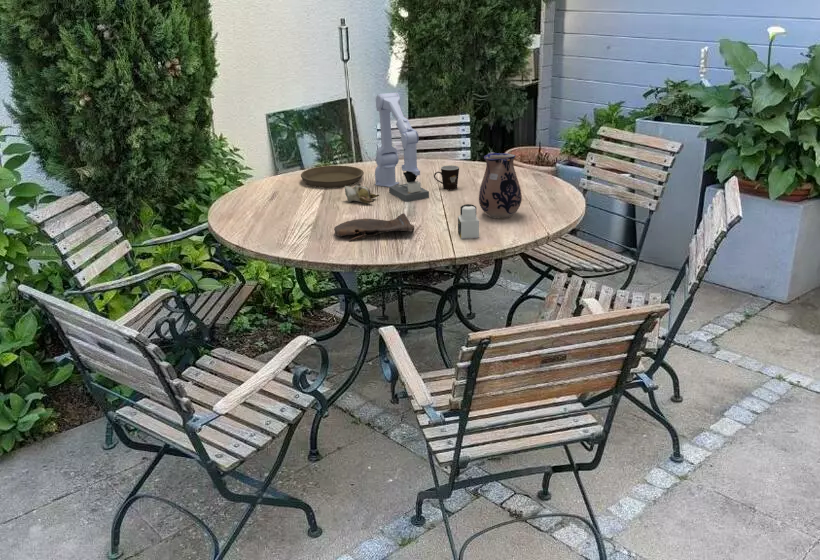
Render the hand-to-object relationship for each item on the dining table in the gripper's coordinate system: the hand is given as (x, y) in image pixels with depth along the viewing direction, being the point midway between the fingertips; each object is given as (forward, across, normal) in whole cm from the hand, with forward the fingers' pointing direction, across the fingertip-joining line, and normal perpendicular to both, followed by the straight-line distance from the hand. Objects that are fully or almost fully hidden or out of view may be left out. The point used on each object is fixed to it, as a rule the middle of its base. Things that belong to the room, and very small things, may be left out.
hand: (411, 187), depth 326 cm
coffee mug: (+4, -3, +21) cm, 21 cm away
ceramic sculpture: (+5, -5, -23) cm, 24 cm away
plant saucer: (+5, -46, -20) cm, 51 cm away
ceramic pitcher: (+4, +43, +18) cm, 47 cm away
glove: (+5, +36, -35) cm, 51 cm away
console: (+4, -3, 0) cm, 5 cm away
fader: (+1, +3, 0) cm, 3 cm away
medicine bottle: (+4, +59, -6) cm, 59 cm away
